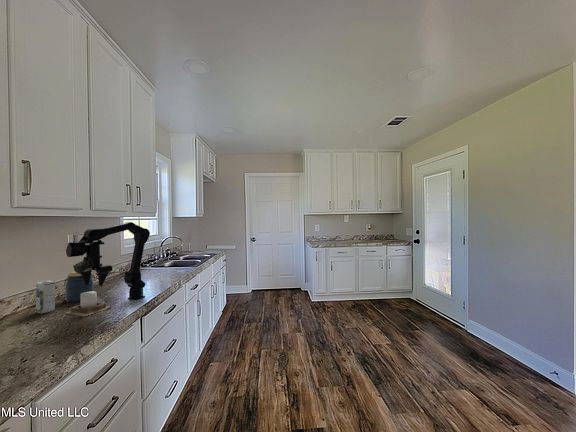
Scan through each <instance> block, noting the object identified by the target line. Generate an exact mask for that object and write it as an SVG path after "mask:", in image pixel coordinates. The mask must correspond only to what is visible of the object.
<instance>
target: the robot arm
mask: <svg viewBox="0 0 576 432" xmlns="http://www.w3.org/2000/svg"><path fill="white" fill-rule="evenodd" d="M124 231H128V232H129V233H131V234H132V235H133V242H134V247H133V252H132V258H131V263H130V268H129V269H128V270H127V271H125V272H124V277H123V280H124V283H125V284H126V285H127V287H128V288H129V291H128V295H129V296H128V297H127V300H132V301H133V300H140V299H142V297H143V298H145V297H146V295H144V288H145V287H146V282H145V281H143V280H142V273H141V266H142V265H141V264H142V259H143V254H144V249H145V244H146V243H147V242H148V240H149V238H150V235H151V232H150V230H149V229H148V228H144V227H143V226H140V225H137V224H136V223H134V222H132V221H126V222H124V223H120V224H115V225H111V226H108V227H101V228H100V227H99V228H90V229H89V228H88V229H86V230H85V231H84V232H83V236H82V237H81V238H80V240H79V241H78V242H77V241H75V242H72V241H71V242H67V247H66V249H65V253H66V257H68V258H73V257H83V256H84V255H85V256H84V257H83V259H82V261H79V262H78V263H76V264H73V269H74V270H73V272H74V271H75V272H76V273H78V274H80V275H81V276H82V278H83V280H84V282H85V285H88V284H89V281H90V276H91V275H92V274H91V272H92V271H95V275H97V277H98V285H99V287H102V286H103V285H104V282H105V281H106V279H107V277H108V276H109V274H110V273H111V272H112V271H113V268H114V267H113V266H112V264H104V265H103V263H101V259H102V258H103V255H101V245H105V242H103V240H101V239H104V238H106V237H107V236H110V235H113V234H117V233H121V232H124Z"/></svg>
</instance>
